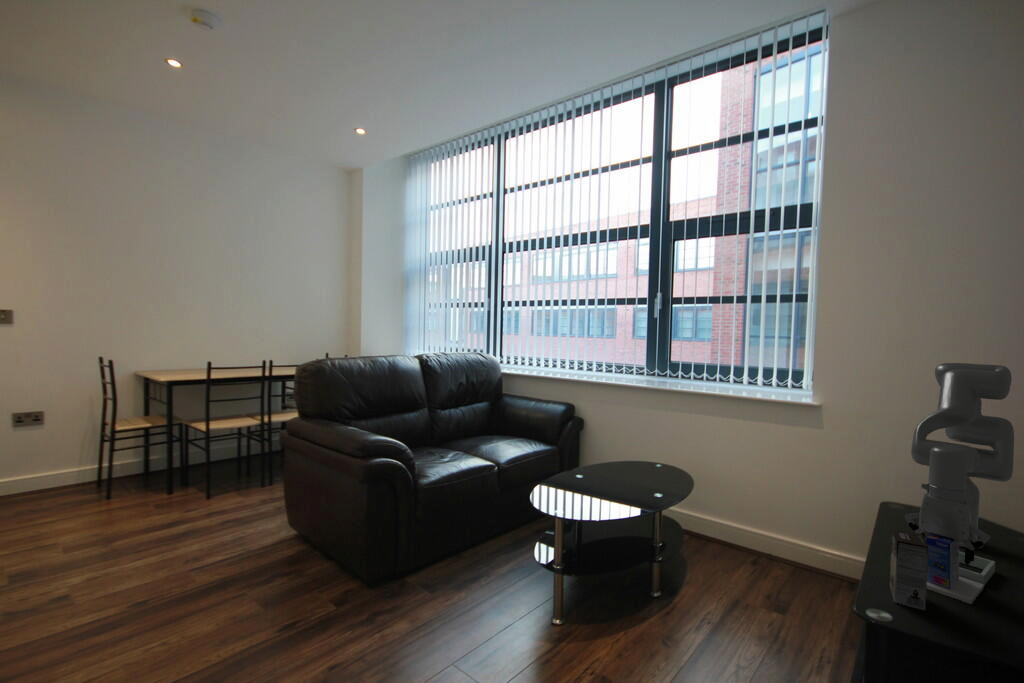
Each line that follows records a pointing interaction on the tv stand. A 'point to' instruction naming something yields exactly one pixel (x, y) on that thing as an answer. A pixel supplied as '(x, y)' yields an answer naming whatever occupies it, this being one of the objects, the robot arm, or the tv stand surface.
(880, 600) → the tv stand surface
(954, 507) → the robot arm
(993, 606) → the tv stand surface
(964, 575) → the frame
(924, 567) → the coffee box
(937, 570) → the ink cartridge box
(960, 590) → the tile
